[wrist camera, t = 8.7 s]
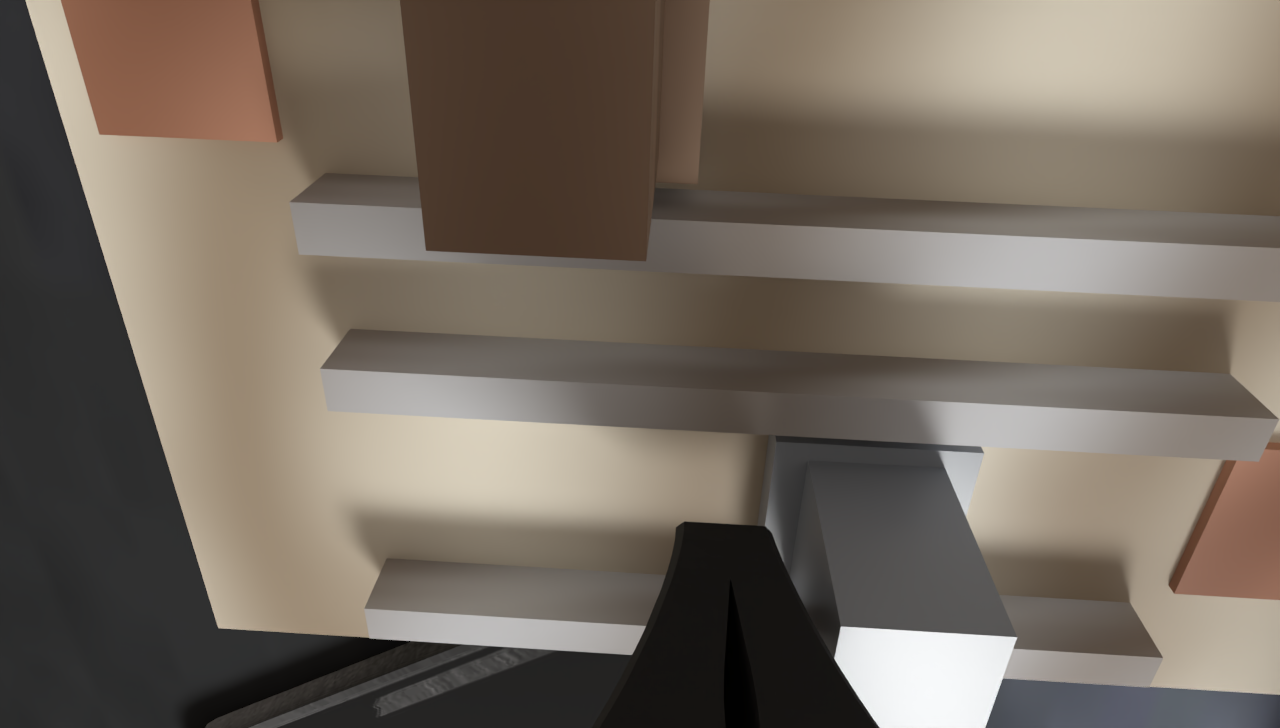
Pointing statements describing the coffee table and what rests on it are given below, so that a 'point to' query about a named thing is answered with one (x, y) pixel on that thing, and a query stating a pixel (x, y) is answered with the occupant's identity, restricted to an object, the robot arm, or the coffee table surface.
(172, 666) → the coffee table surface
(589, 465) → the switch panel
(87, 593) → the coffee table surface
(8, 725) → the coffee table surface
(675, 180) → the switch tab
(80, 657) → the coffee table surface
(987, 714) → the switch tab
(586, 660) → the phone
